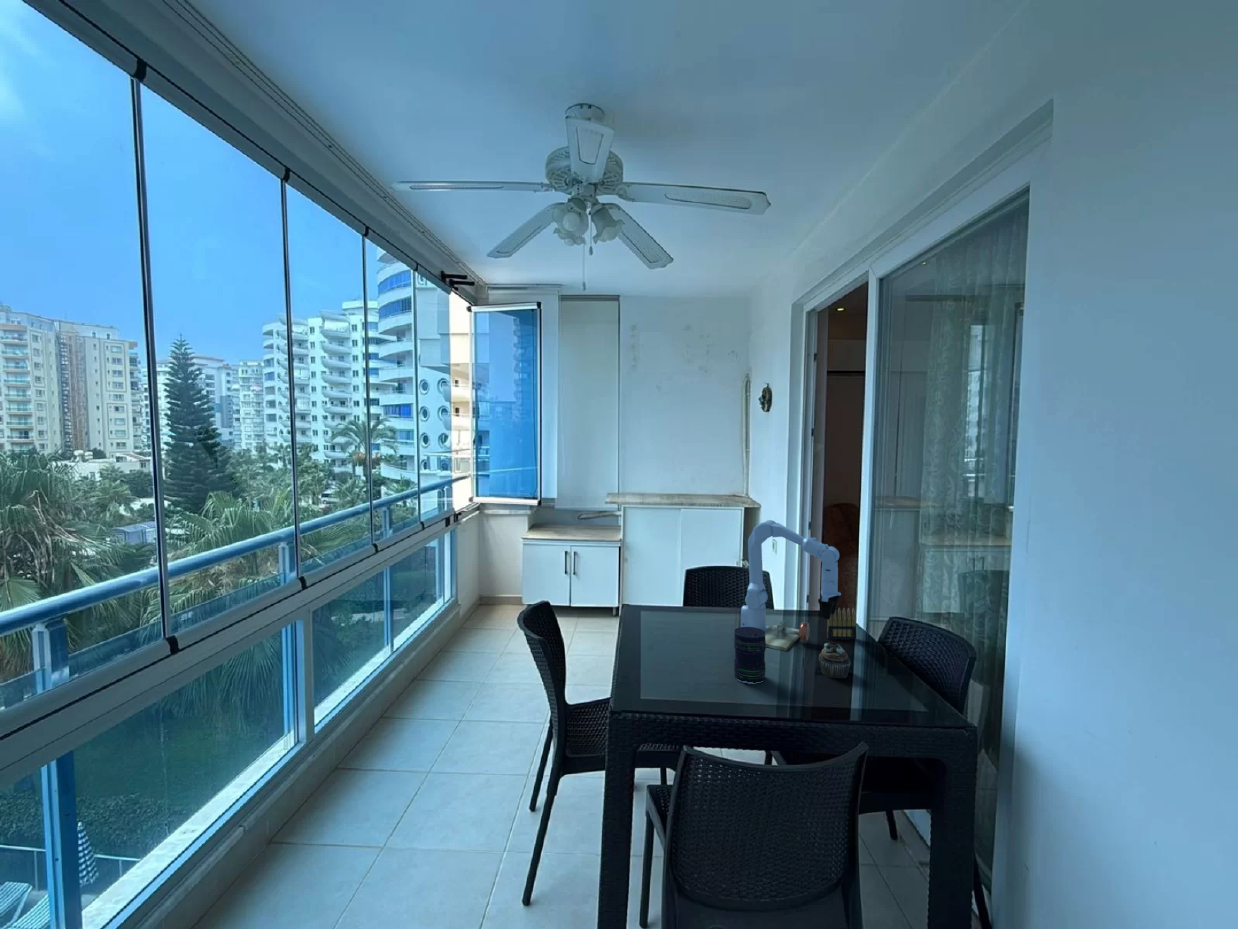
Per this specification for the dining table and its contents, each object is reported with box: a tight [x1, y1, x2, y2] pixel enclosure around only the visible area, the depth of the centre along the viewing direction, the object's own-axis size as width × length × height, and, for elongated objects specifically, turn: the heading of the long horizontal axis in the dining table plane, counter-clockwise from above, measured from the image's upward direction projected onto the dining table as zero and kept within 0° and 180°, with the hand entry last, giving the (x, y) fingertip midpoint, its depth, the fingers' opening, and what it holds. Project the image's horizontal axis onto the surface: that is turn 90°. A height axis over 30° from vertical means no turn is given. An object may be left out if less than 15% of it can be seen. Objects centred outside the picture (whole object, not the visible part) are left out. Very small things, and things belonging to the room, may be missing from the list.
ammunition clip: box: [825, 607, 857, 641], centre depth 212 cm, size 11×2×12 cm, turn 86°
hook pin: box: [775, 621, 810, 643], centre depth 210 cm, size 12×7×7 cm, turn 57°
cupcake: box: [818, 641, 852, 679], centre depth 180 cm, size 10×10×10 cm
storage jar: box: [733, 626, 767, 683], centre depth 177 cm, size 10×10×15 cm
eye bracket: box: [765, 620, 799, 652], centre depth 213 cm, size 12×22×6 cm, turn 147°
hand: (829, 616), depth 208 cm, fingers open, 7 cm apart
